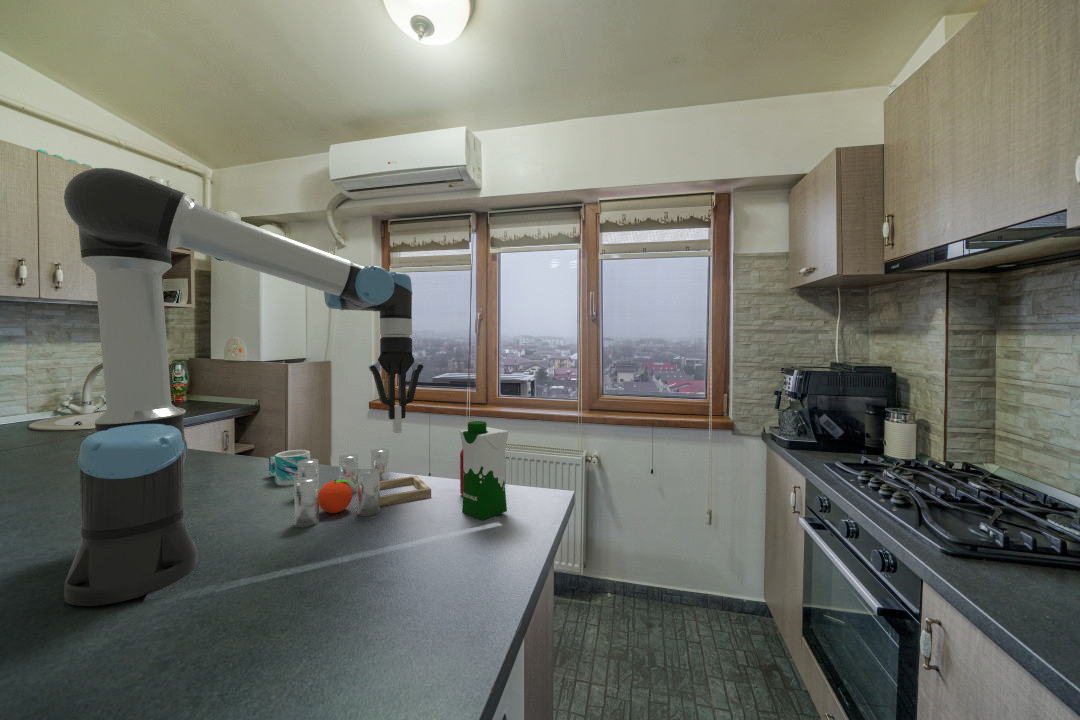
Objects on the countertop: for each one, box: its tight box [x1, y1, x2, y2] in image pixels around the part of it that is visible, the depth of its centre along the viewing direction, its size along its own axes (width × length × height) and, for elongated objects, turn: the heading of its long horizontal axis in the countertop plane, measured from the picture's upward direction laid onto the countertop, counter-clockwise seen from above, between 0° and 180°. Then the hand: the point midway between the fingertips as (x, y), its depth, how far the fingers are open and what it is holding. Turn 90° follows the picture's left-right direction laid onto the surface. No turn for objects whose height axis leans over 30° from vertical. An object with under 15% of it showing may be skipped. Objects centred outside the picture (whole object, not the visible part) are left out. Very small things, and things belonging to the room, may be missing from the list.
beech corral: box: [380, 475, 432, 507], centre depth 106 cm, size 13×13×2 cm
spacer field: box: [293, 447, 390, 529], centre depth 101 cm, size 24×22×9 cm
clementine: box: [319, 479, 356, 514], centre depth 94 cm, size 8×7×7 cm
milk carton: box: [459, 420, 509, 521], centre depth 94 cm, size 9×9×20 cm
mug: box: [268, 449, 311, 486], centre depth 115 cm, size 8×12×8 cm
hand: (397, 431), depth 106 cm, fingers closed
